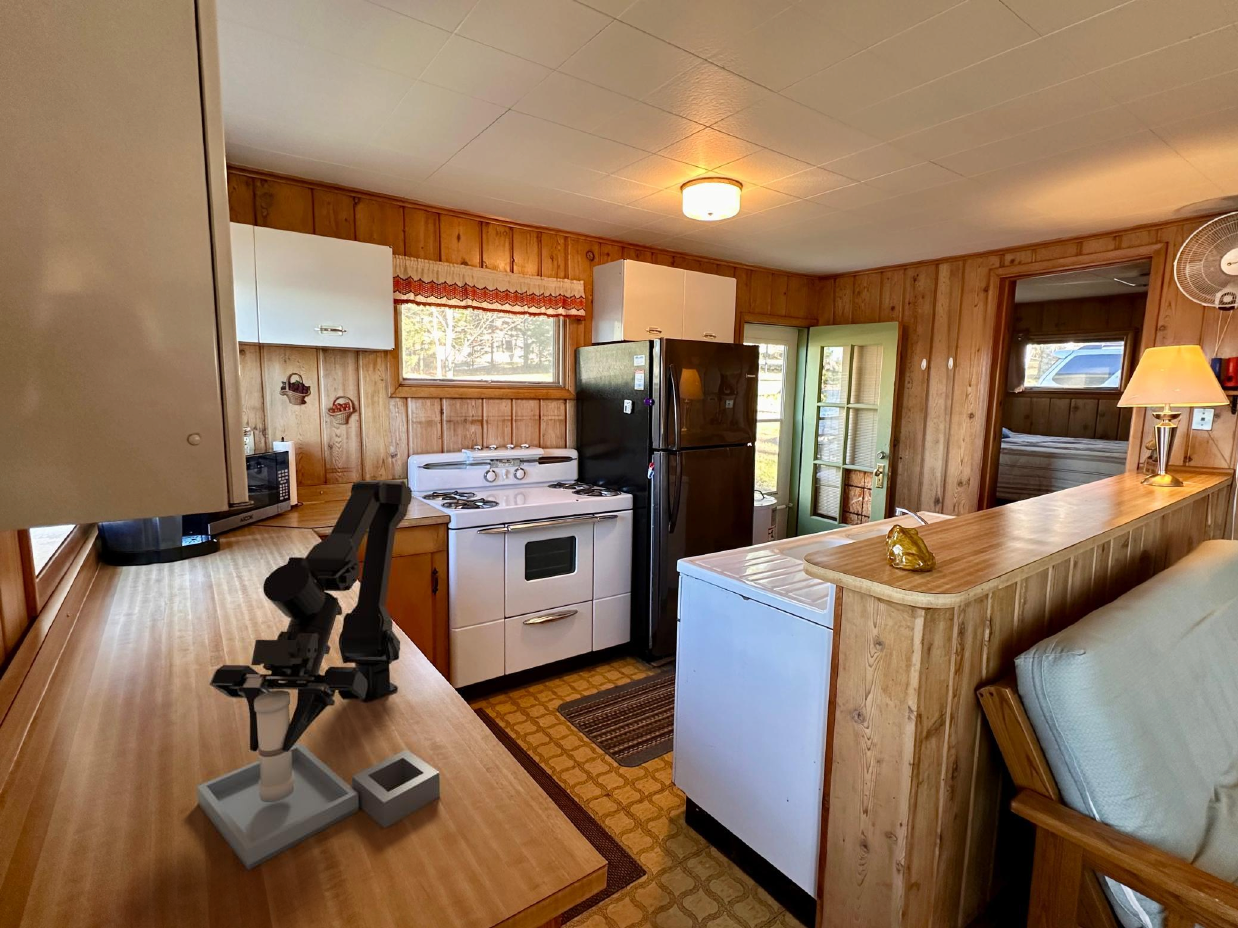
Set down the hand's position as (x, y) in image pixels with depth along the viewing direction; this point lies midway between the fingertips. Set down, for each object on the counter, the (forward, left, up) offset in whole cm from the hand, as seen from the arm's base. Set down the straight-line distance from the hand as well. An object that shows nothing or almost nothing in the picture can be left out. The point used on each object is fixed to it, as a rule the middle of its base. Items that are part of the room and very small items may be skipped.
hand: (268, 750), depth 77 cm
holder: (+9, +12, -9) cm, 17 cm away
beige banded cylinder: (-1, +1, -7) cm, 7 cm away
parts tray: (-1, +1, -9) cm, 9 cm away
